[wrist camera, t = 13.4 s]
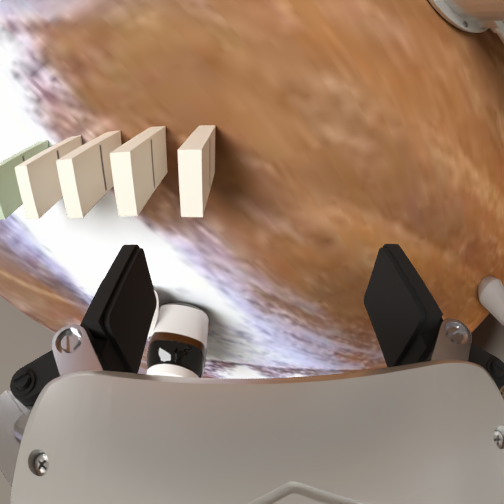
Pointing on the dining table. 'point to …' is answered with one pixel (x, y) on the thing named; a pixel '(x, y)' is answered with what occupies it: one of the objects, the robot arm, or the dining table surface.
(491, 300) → the salt shaker
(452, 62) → the dining table surface
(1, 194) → the green domino
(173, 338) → the spread jar
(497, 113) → the dining table surface
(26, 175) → the domino
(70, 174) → the domino
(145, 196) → the domino
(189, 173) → the domino
